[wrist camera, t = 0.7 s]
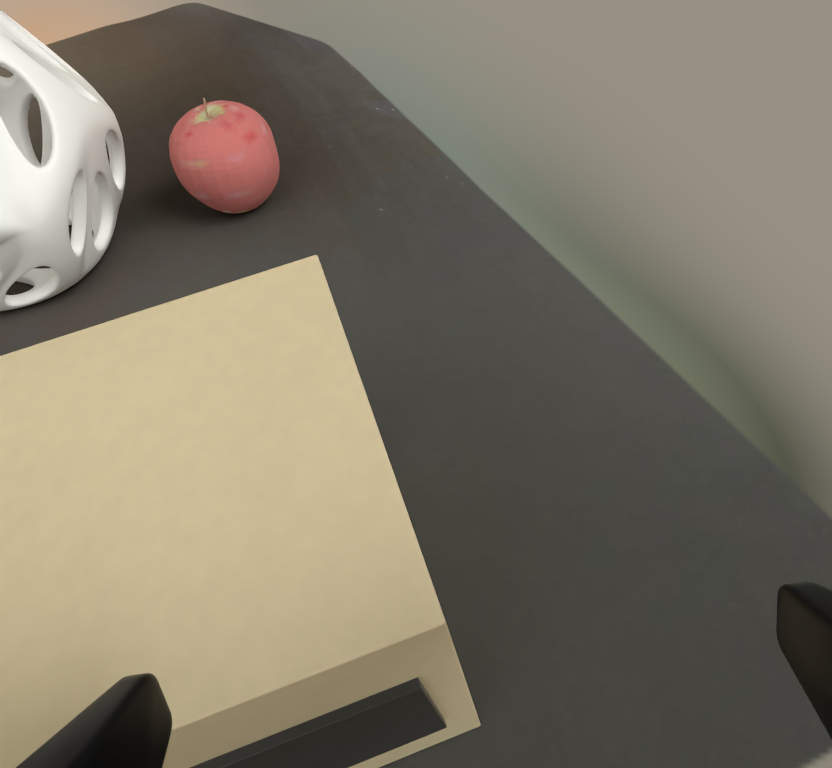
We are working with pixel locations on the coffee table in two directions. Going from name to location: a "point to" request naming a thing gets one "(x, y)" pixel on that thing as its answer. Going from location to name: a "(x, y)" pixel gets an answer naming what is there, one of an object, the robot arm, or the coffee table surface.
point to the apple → (225, 156)
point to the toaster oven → (216, 538)
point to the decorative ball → (53, 171)
